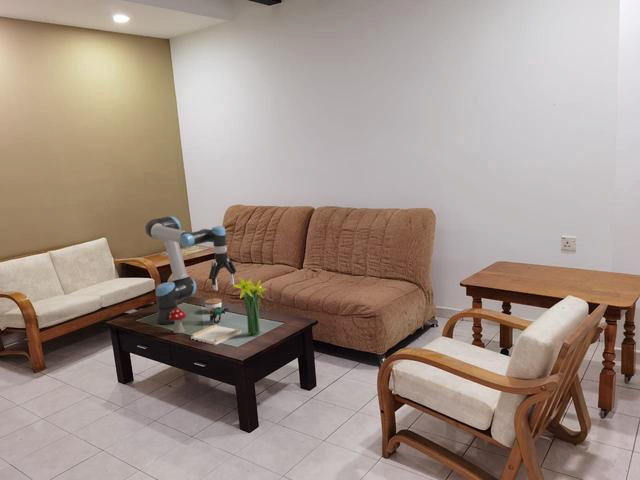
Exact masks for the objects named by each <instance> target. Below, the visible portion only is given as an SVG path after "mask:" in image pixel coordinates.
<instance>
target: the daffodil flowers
mask: <svg viewBox="0 0 640 480" xmlns="http://www.w3.org/2000/svg"><path fill="white" fill-rule="evenodd" d="M238 279H239V281H240V283H238V284H234V285H232V287H234V288H237V289H240V290H241V291H240V294H239V295H240V296H239V299H242V298H243V299H244V305H245V310H246V317H247V318H246V321H247V332H248V333H247V334H248V336H250V335H253V336H255V335H256V334H258V335H260V334H261V330H260V329H261V328H260V322H259V321H260V320H259V310H260V309H259V308H260V307H259V306H260V300H261V298H262V299H265V297H264V295H263V292H265V291H267V290H268V288H266V287H262V286H261V283H262V280H261V279H259V280H258V282H256V283H257V284H256V285H255V284H254V283H253V278H249V279H248V280H247V281H246V282H245V280H244V279H243V278H242V277H240V276H238ZM258 296H259V297H258Z"/></svg>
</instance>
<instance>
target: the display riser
mask: <svg viewBox="0 0 640 480" xmlns="http://www.w3.org/2000/svg"><path fill="white" fill-rule="evenodd" d="M240 334H242V330H241V329H240V328H231V327H225V326H221V325H218V323H217V324H215V323H214V324H212V325H211V326H207V327H206V328H203V329H201V330H198V331H196V332H194V333H192V334H191V336H190V339H191V340H192V339H194V340H193V341H196V340H198V342H201V341H202V342H201V343H205V342H206V343H205V344H210V345H214V346H216V345H218V344H221V343H223V342H225V341H228V340H229V339H232V338H233V337H236V336H238V335H240Z"/></svg>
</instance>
